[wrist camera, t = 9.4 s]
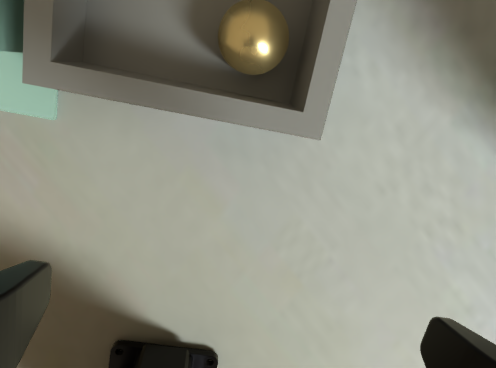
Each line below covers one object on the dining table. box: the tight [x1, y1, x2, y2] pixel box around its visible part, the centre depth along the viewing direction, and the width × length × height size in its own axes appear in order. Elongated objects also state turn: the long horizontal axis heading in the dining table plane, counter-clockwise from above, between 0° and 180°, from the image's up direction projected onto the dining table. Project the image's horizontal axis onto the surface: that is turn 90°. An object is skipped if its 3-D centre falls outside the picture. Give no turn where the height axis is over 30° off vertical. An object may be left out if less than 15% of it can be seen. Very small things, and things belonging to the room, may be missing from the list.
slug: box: [218, 0, 289, 75], centre depth 17 cm, size 3×3×2 cm
